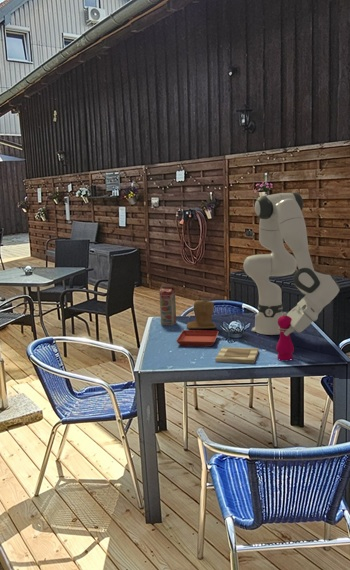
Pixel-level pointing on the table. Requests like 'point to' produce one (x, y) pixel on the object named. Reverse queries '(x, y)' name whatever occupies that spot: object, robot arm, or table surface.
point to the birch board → (237, 355)
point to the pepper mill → (284, 339)
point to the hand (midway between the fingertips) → (283, 332)
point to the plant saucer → (197, 338)
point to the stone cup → (202, 315)
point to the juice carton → (167, 304)
